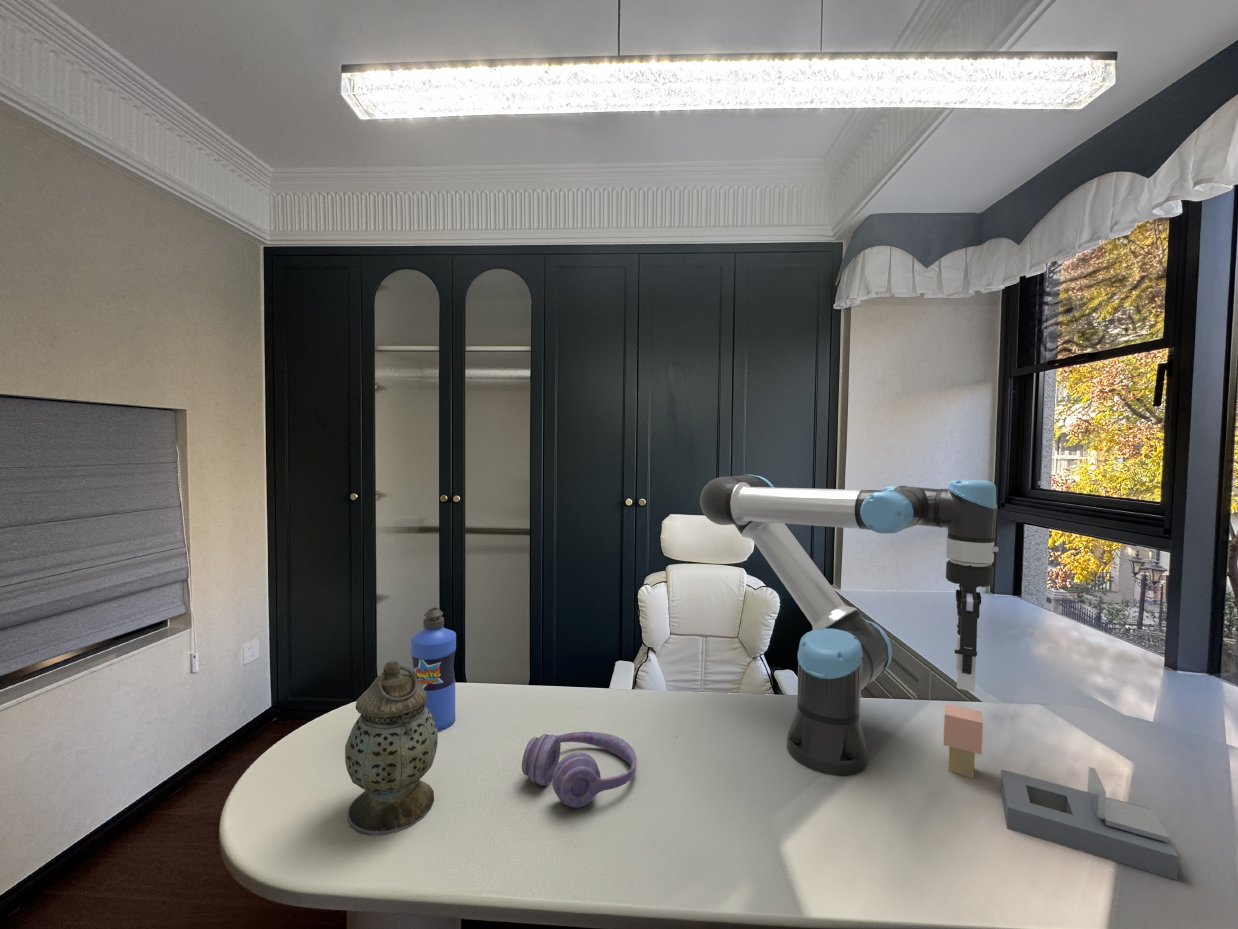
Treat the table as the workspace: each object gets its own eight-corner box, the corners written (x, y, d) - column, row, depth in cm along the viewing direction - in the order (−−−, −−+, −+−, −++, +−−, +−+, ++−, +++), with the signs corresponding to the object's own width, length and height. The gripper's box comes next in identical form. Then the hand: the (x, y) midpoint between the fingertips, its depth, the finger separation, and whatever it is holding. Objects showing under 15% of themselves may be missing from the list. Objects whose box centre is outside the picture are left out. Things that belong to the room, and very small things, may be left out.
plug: (942, 770, 104) (944, 714, 103) (942, 758, 108) (944, 703, 108) (980, 781, 101) (982, 723, 100) (978, 767, 105) (981, 711, 105)
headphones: (574, 826, 87) (653, 789, 101) (581, 773, 87) (658, 743, 102) (506, 777, 99) (585, 750, 114) (512, 731, 100) (590, 709, 114)
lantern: (441, 777, 100) (441, 642, 99) (431, 831, 86) (431, 675, 85) (358, 786, 97) (357, 647, 96) (334, 844, 83) (333, 683, 82)
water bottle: (448, 734, 114) (448, 616, 113) (403, 733, 114) (403, 615, 113) (461, 711, 124) (461, 602, 122) (420, 711, 124) (420, 602, 123)
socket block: (1006, 828, 88) (1007, 807, 88) (1000, 788, 99) (1001, 769, 99) (1177, 880, 78) (1178, 856, 78) (1150, 829, 89) (1151, 808, 88)
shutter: (1097, 822, 85) (1099, 789, 84) (1087, 797, 91) (1088, 767, 90) (1168, 842, 80) (1170, 808, 80) (1152, 815, 86) (1154, 783, 86)
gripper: (998, 576, 91) (992, 708, 92) (989, 554, 110) (984, 663, 111) (946, 570, 95) (941, 697, 96) (946, 550, 114) (941, 656, 115)
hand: (964, 679), depth 104 cm, fingers open, 9 cm apart
